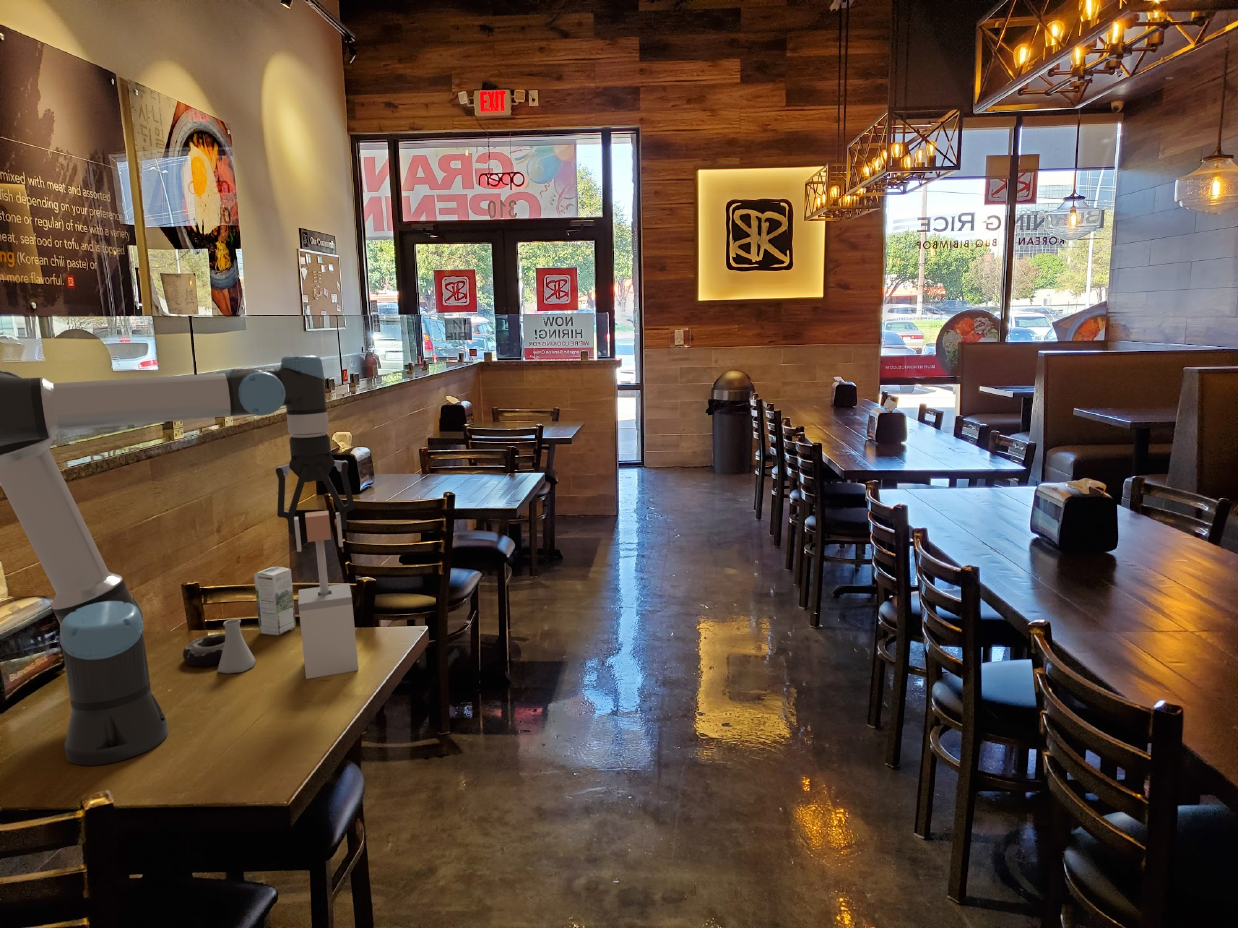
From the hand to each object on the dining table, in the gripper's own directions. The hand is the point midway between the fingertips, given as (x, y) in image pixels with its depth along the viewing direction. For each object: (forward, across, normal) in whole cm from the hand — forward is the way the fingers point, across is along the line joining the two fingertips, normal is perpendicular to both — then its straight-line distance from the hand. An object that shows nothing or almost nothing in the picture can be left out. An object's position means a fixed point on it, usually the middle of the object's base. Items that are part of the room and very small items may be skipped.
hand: (320, 547), depth 171 cm
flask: (+25, +18, -8) cm, 32 cm away
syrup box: (+25, +11, -27) cm, 39 cm away
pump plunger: (+13, 0, 0) cm, 13 cm away
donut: (+25, +23, -16) cm, 38 cm away
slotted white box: (+25, 0, 0) cm, 25 cm away
